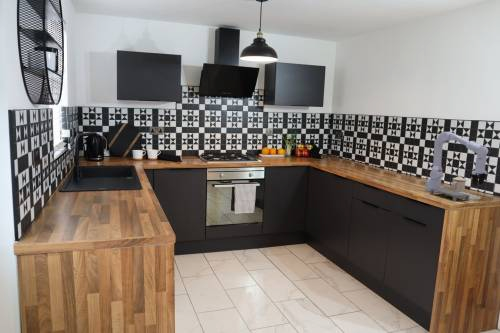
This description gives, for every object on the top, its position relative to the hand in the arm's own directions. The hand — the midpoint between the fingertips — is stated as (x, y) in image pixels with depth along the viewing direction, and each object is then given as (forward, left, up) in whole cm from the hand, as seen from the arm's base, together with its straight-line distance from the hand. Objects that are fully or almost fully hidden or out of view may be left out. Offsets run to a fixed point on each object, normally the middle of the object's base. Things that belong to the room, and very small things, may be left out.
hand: (477, 184), depth 265 cm
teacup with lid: (-19, +15, -10) cm, 27 cm away
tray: (-6, -3, -10) cm, 12 cm away
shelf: (-11, -15, -10) cm, 21 cm away
